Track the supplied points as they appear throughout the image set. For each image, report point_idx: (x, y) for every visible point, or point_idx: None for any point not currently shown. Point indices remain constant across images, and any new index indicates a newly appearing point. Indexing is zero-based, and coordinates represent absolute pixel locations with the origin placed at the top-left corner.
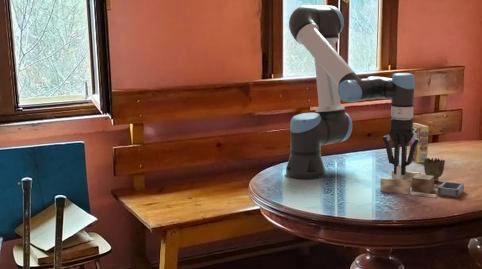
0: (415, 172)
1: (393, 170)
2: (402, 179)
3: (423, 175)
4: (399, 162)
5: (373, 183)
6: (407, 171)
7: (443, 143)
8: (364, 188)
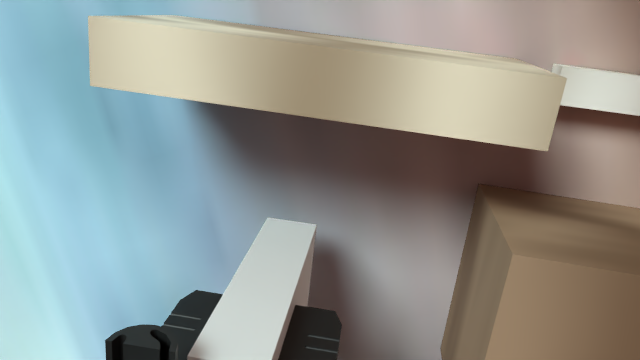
0: (477, 101)
1: (113, 79)
2: (310, 246)
3: (623, 325)
4: (171, 355)
5: (20, 169)
6: (335, 76)
7: None
8: (21, 354)
